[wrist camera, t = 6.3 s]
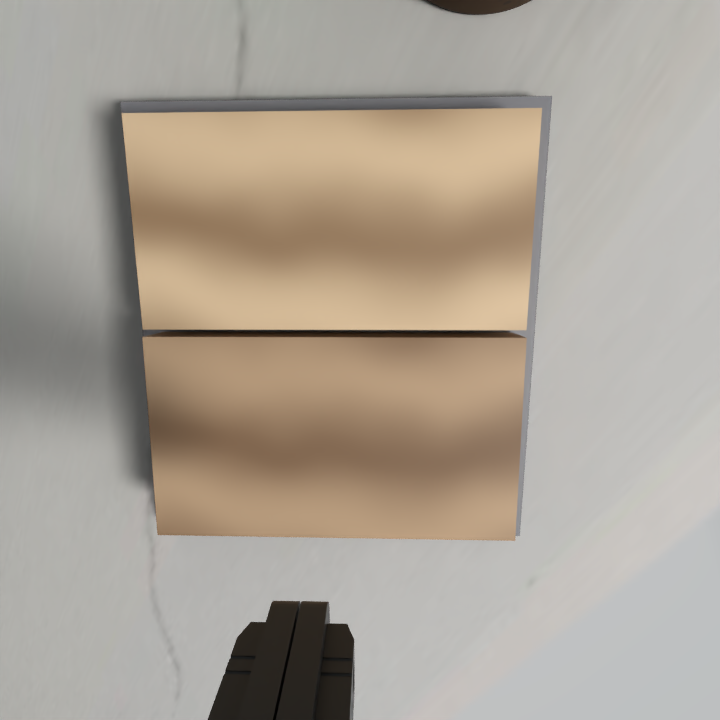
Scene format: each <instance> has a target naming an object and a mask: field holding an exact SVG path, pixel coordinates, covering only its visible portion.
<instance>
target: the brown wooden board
mask: <svg viewBox="0 0 720 720" xmlns="http://www.w3.org/2000/svg"><path fill="white" fill-rule="evenodd" d="M142 340H143V352H144V365H145V378H146V391H147V404H148V417H149V430H150V443H151V456H152V469H153V482H154V495H155V507H156V520H157V533H158V535H195V536H258V537H320V538H382V539H445V540H507V541H515V535H516V518H517V500H518V483H519V465H520V448H521V430H522V412H523V395H524V377H525V360H526V342H527V338H526V337H523V336H521V335H518V334H515V333H488V332H160V333H156V334H152V335H148V336H144V337H142Z"/></svg>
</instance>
